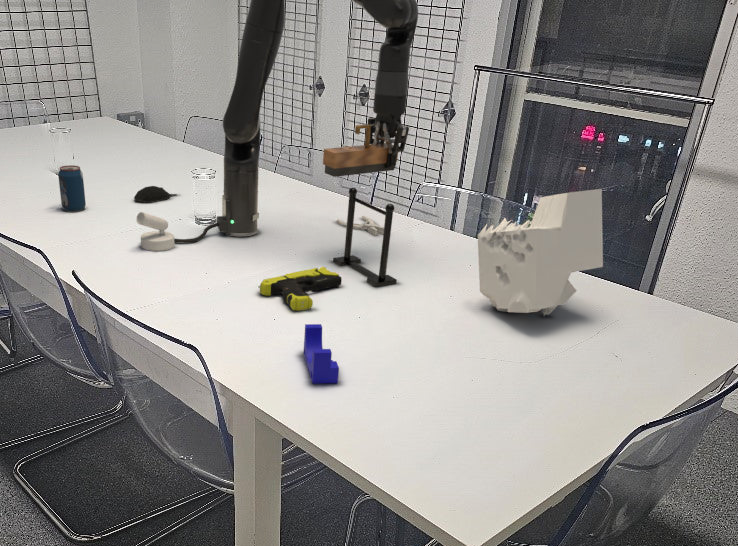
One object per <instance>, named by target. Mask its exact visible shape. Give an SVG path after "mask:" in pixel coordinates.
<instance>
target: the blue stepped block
mask: <svg viewBox="0 0 738 546" xmlns="http://www.w3.org/2000/svg"><path fill="white" fill-rule="evenodd" d="M303 340H304V341H303V357H304V360H305V363H306V366H307V370H308V374H309V376H310V380H311V383H312V384H315V385H317V384H318V385H319V384H338V383H339V382H338V381H339V371H340V367H339V364H338V362H337V360H333V359H332V355H333V354H332V353H333V352H332V349H331V348H323V325H322V324H321V323H308V324H304V339H303Z"/></svg>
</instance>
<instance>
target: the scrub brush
mask: <svg viewBox="0 0 738 546" xmlns="http://www.w3.org/2000/svg"><path fill="white" fill-rule="evenodd" d="M361 129H365V136H364V144H362V145H351V146H342V147H340V146H339V147H331V148H330V147H329V148H323V157H322V165H323V166H324V174H326V175H328V176H330V177H333V178H338V177H346V176H354V175H355V176H356V175H363V174H364V175H365V174H373V173H381V172H390V171H395V169H390V170H389V169H387V168H386V164H387V154H388V146H387V144H386V143H385V142H384V143H381V144H370V132H371V125H369V124H368V123H367V124H356V125H355V129H354V134H355V135H360V134H361ZM393 146H394V144H392V148H393ZM398 156H399V152H398V153H397V160H396V163H398Z"/></svg>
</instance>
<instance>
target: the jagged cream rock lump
mask: <svg viewBox="0 0 738 546" xmlns="http://www.w3.org/2000/svg"><path fill="white" fill-rule="evenodd" d="M510 222H511V220H508V221H507V218H506V217H504V218H503V219H502V220H501V222H500V223H499V224H498V225H497V226H496V227H495V228H494V226H495V225H494V224H491V225H490V226H489V227H488V229H487V226H488V223H486V224H485V225H484V226H483V228H482V229H481V231H480V232H479V233H477V255H478V278H479V293H481V294H482V295H483V296H484V297H485V298H487V299H488V300H489V301H490V302H491V306H492V307H494V308H495V309H496V310H497V311H498V312H508V313H523V314H529V313H537V312H539V311H542V313H543V317H545V316H549V315H550V314H551V313H552V312H553V311H554V310H555V309H556V308H558V306H559V305H560V306H562V305H565V304H566V303H567V302H568V301H569V300H570V298H572V296H573V295H574V294H576V292H577V291H578V290H577V289H576V288H575V287H574V285H573V284H572V283H571V282H570V280H569V278H570V276H571V274H572V273H577V272H583V271H587V270H593V269H599V268H603V267H604V247H603V246H604V245H603V243H604V242H603V237H604V236H603V190H602V188H597V189H588V190H580V191H578V190H577V191H570V192H564V193H557V194H553V195H552V194H551V195H546V196H540V197H539V200H538V203H537V206H536V209H535V211H534V214H533V216H532V219H531V221H530V219H529V220H527V221H525V222H524V223H523V224H517V223H518V221H515V222H511V223H510Z"/></svg>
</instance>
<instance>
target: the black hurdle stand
mask: <svg viewBox="0 0 738 546" xmlns="http://www.w3.org/2000/svg"><path fill="white" fill-rule="evenodd" d="M357 194H358V190H357V188H356V187H350V188H349V189H348V206H347V219H346V223H347V227H346V229H345V241H344V252H343V256H338V257H337V256H336V257H333V258H332V263H334V264H336V265H337V266H339V267H344V266H349V267H350V268H352V269H354V270H356V271H357V272H359V273H361V274H362V275H364V276H366V283H367V284H369V285H370V286H373V287H375V288H378V287H383V286H389V285H395V284H397V283H398V282H397V281H398V280H397V279H396V278H395V277H393V276H391V275H389V274H387V269H388V259H389V250H390V242H391V233H392V226H393V225H392V224H393V217H394V216H393V215H394V211H395V205H394V204H393V203H388V204H386V205H385V208H384V209H385V210H383V209H382V208H379V207H377V206H374V205H373V204H371V203H368V202H366V201H364V200H362V199H359V198H357ZM356 203H358V204H360V205H362V206H364V207H366V208H369V209H371V210H372V211H375V212H377V213H379V214H382V215H383V216H384V226H383V227H384V233H383V234H382V241H381V250H380V251H381V252H380V261H379V268H378V269H379V270H378V274H376V273H375V272H373V271H371V270H369V269H367V268H366V267H365V266H363V265H360V264H361V263H362V258H359V257H358V256H356V255H355V254H352V245H353V233H354V229H353V223H354V221H355V211H356ZM354 224H355V223H354Z"/></svg>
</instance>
